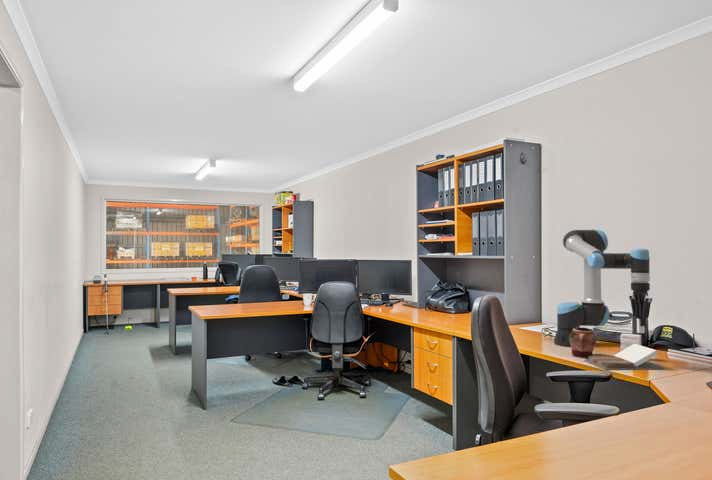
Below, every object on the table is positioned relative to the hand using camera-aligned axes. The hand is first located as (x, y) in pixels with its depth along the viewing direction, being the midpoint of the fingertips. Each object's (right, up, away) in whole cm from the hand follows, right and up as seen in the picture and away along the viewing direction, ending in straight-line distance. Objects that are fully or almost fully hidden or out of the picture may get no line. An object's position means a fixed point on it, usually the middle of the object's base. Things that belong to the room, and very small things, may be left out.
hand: (640, 332), depth 221 cm
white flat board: (-2, -11, 0) cm, 11 cm away
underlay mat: (-9, -15, -1) cm, 17 cm away
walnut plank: (-15, -15, -1) cm, 21 cm away
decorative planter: (-19, -15, +16) cm, 29 cm away
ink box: (+3, -15, +13) cm, 20 cm away
